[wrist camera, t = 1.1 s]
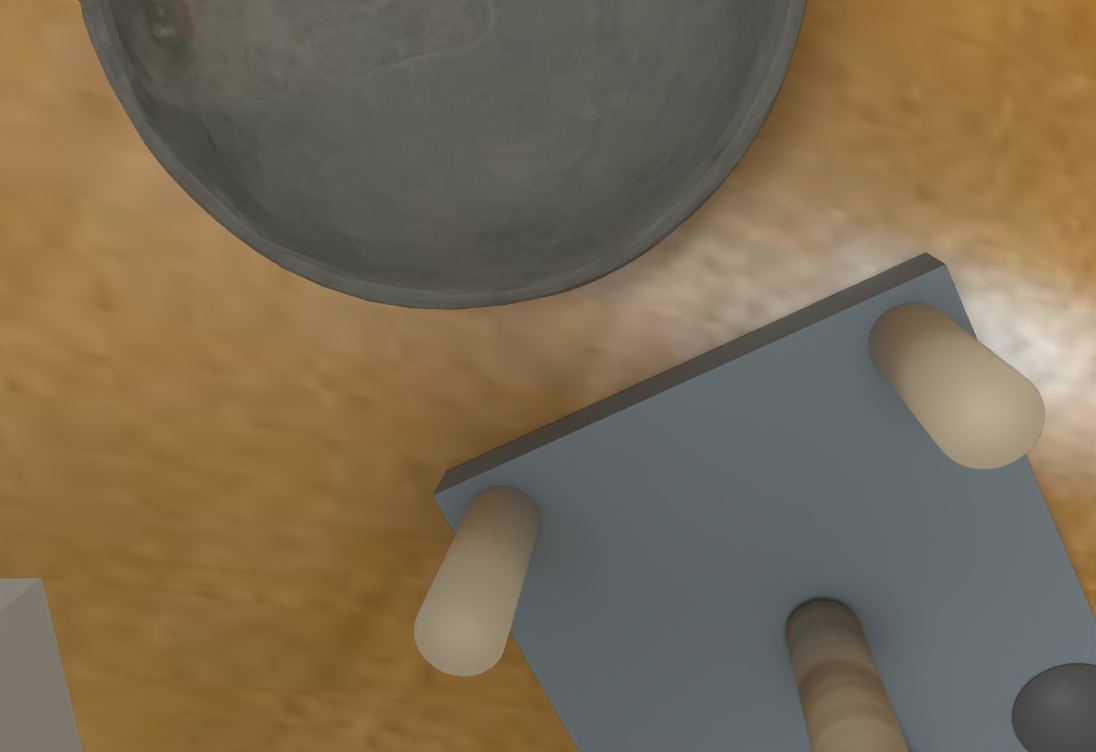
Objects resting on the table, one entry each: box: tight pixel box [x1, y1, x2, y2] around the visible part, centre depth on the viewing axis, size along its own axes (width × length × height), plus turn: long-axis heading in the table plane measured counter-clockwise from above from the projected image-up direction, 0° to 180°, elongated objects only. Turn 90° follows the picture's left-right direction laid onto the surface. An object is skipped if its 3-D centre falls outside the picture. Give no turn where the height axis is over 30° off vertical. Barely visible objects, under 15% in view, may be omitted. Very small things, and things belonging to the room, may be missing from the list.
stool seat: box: [414, 253, 1096, 752], centre depth 34 cm, size 20×20×11 cm
